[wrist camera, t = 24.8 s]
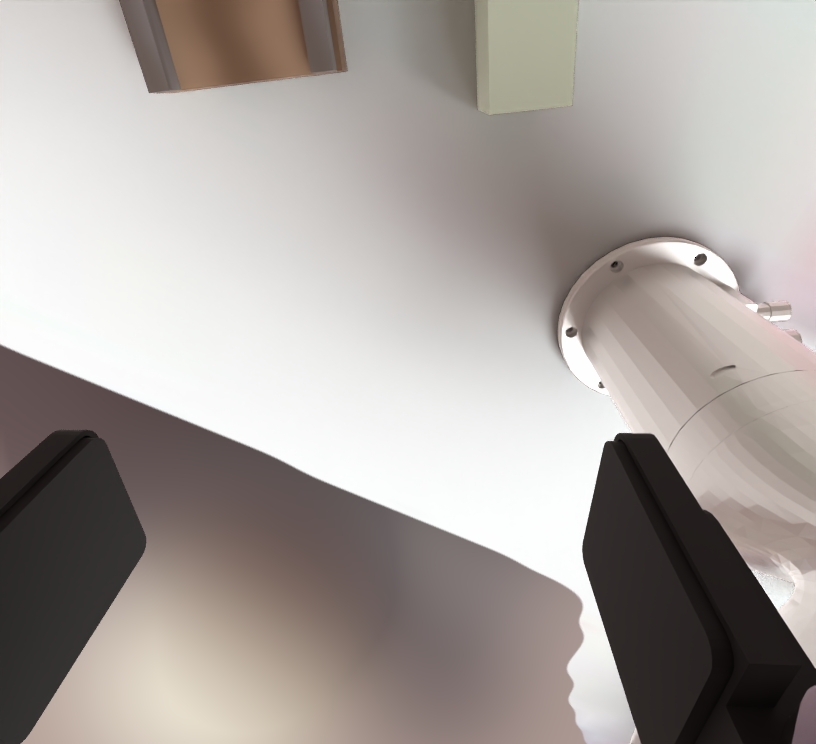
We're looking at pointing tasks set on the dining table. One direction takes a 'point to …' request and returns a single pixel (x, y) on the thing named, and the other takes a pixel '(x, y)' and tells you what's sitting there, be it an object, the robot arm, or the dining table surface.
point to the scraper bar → (525, 54)
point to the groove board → (233, 41)
